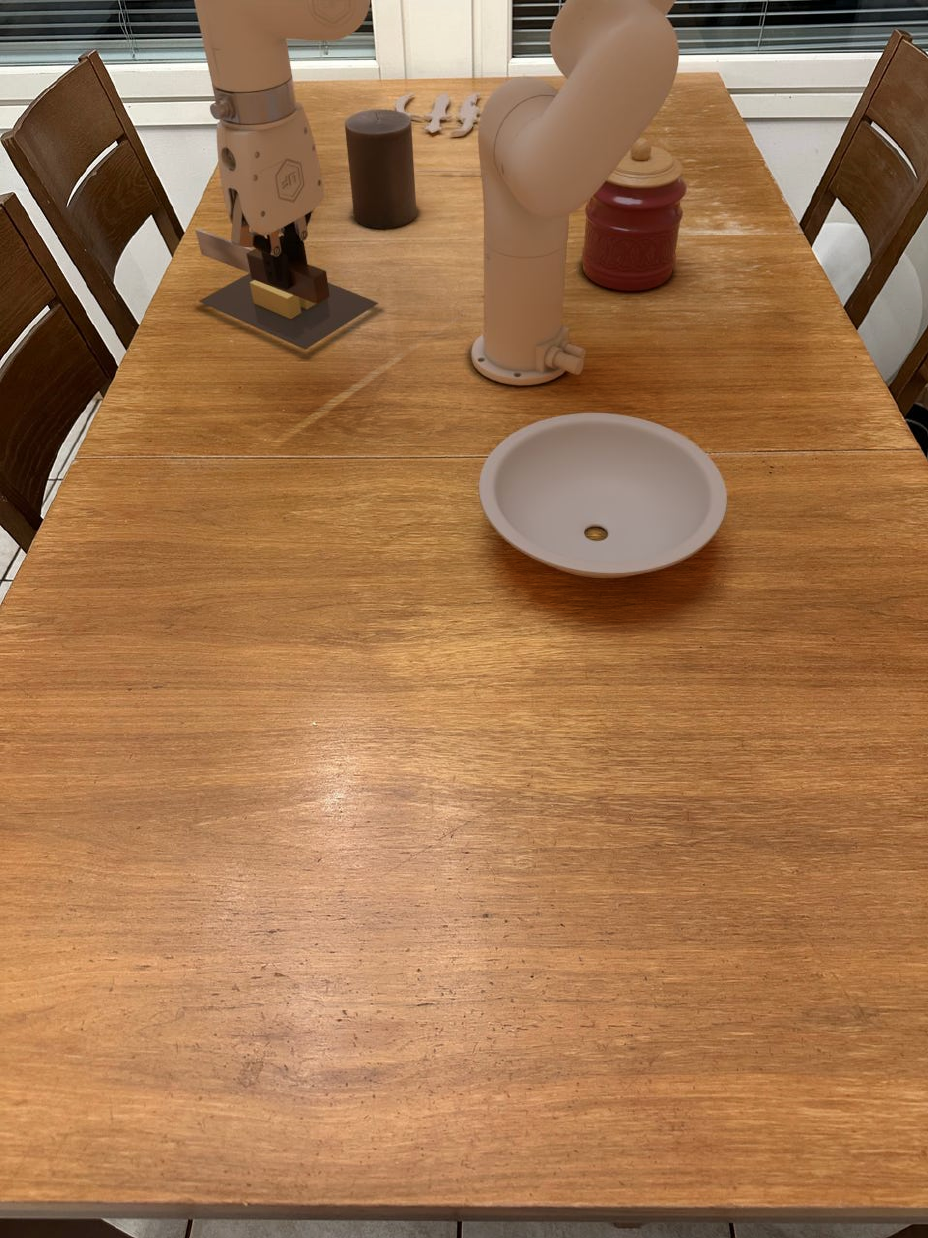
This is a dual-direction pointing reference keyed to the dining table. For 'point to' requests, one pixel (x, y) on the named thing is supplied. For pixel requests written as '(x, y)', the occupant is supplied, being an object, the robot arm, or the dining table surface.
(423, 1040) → the dining table surface
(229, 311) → the slate board
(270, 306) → the butter slice
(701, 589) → the dining table surface
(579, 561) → the grey sink basin
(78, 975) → the dining table surface
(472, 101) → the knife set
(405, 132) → the pillar candle
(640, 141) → the kitchen canister
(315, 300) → the knife
